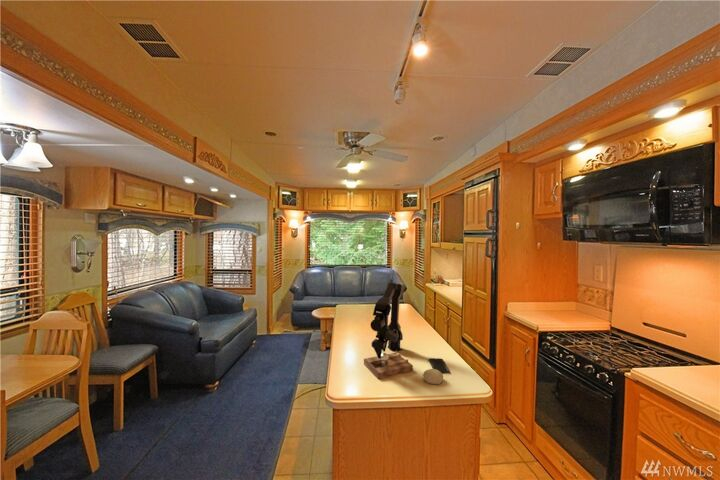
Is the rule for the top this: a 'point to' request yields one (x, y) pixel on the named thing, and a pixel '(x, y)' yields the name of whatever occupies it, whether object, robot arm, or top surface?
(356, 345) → the top surface
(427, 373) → the sea urchin shell
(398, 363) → the hole deck
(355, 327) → the top surface
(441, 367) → the phone
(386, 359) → the steel ball
